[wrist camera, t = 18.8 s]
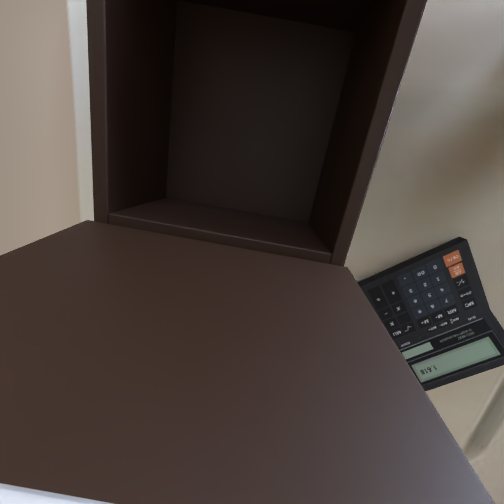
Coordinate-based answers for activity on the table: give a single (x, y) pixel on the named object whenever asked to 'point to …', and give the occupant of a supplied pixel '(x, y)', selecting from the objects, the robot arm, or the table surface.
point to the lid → (208, 379)
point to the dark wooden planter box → (243, 116)
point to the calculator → (438, 314)
